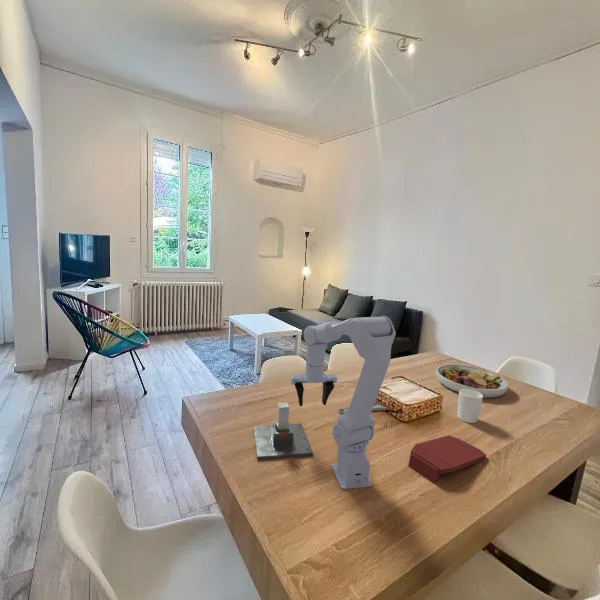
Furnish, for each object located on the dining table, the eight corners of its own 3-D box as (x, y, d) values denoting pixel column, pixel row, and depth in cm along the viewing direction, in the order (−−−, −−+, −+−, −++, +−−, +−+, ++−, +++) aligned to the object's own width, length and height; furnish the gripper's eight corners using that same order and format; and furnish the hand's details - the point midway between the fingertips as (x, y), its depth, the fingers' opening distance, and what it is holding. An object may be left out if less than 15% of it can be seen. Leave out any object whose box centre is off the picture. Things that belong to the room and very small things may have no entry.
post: (287, 431, 102) (289, 407, 101) (277, 432, 101) (279, 407, 100) (286, 426, 105) (287, 402, 104) (276, 426, 104) (277, 402, 103)
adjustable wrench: (339, 416, 123) (340, 411, 123) (334, 407, 129) (334, 403, 129) (402, 412, 128) (402, 407, 128) (394, 404, 134) (394, 400, 134)
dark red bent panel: (447, 448, 112) (402, 462, 97) (451, 434, 112) (405, 446, 97) (484, 469, 103) (440, 488, 88) (488, 453, 102) (444, 470, 87)
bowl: (437, 369, 177) (439, 355, 176) (503, 382, 164) (505, 367, 163) (432, 390, 150) (434, 373, 149) (510, 407, 138) (513, 389, 136)
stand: (312, 455, 98) (313, 441, 97) (257, 459, 95) (258, 445, 94) (301, 426, 113) (302, 413, 113) (253, 428, 110) (254, 416, 109)
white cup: (454, 420, 124) (458, 394, 122) (456, 411, 131) (459, 387, 129) (479, 426, 120) (483, 400, 119) (479, 417, 127) (483, 392, 126)
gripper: (333, 358, 110) (330, 397, 113) (289, 359, 107) (287, 399, 109) (340, 366, 104) (337, 407, 106) (294, 367, 100) (291, 409, 103)
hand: (312, 404), depth 107 cm, fingers open, 7 cm apart
